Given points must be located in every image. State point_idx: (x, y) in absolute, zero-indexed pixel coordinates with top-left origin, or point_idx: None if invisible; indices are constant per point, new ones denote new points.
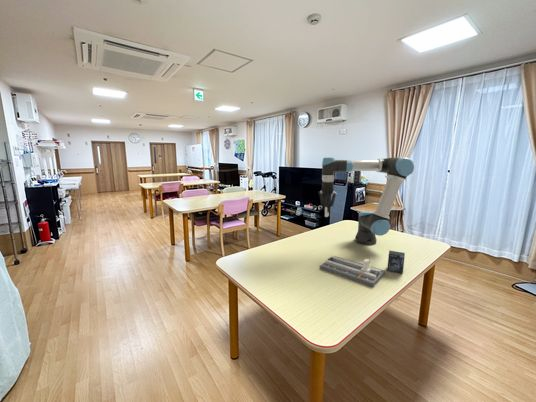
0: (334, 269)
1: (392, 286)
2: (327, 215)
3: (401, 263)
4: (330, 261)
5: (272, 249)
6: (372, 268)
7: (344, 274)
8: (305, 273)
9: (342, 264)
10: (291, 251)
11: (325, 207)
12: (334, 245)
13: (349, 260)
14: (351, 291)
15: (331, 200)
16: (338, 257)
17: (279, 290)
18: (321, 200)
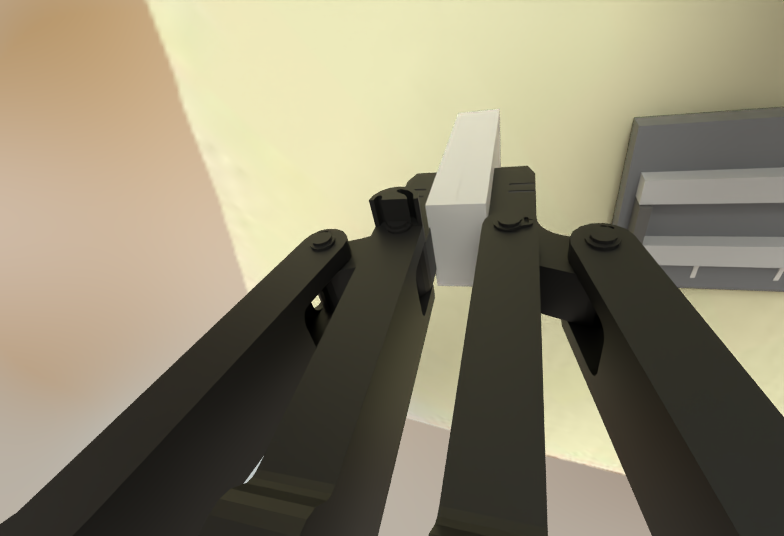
0: (696, 280)
1: None
2: (499, 165)
3: None
4: (655, 253)
5: (286, 240)
6: None
7: (765, 288)
8: (562, 329)
9: (746, 247)
10: (359, 202)
11: (450, 283)
12: None
13: (782, 121)
14: None
15: (650, 491)
16: (676, 131)
17: (549, 419)
18: (288, 397)
